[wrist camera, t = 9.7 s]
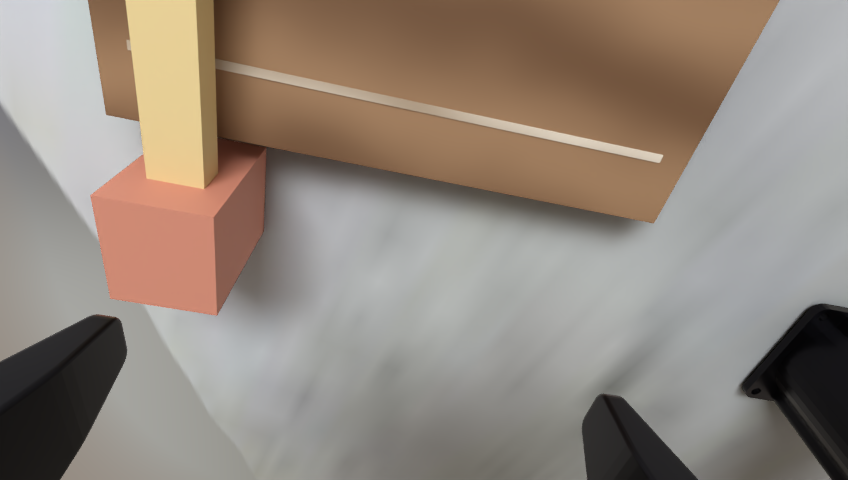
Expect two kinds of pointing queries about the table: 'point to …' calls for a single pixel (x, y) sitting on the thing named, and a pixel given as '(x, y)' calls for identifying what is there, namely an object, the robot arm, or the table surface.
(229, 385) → the table surface
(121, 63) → the board
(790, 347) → the robot arm
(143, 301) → the pink and yellow hammer
